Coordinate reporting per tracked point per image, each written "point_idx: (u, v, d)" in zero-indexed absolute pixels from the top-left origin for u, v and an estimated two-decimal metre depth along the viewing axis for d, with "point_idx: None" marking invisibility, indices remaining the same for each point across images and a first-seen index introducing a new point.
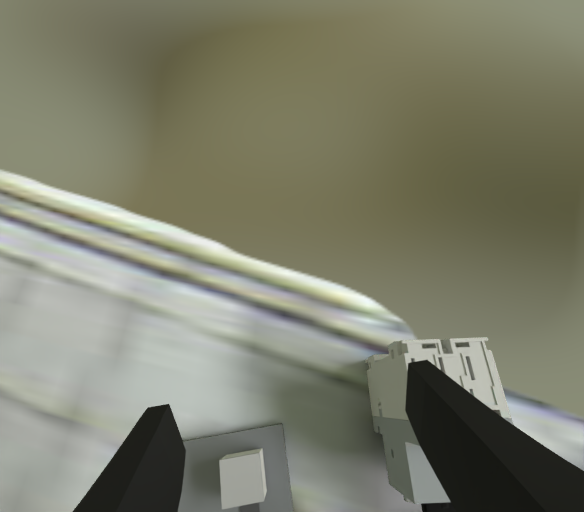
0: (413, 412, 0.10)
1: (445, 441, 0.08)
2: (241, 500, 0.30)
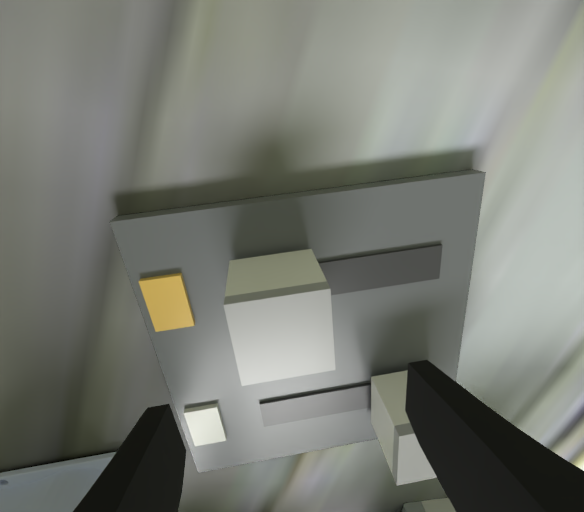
0: (413, 412, 0.10)
1: (445, 441, 0.08)
2: (405, 459, 0.17)
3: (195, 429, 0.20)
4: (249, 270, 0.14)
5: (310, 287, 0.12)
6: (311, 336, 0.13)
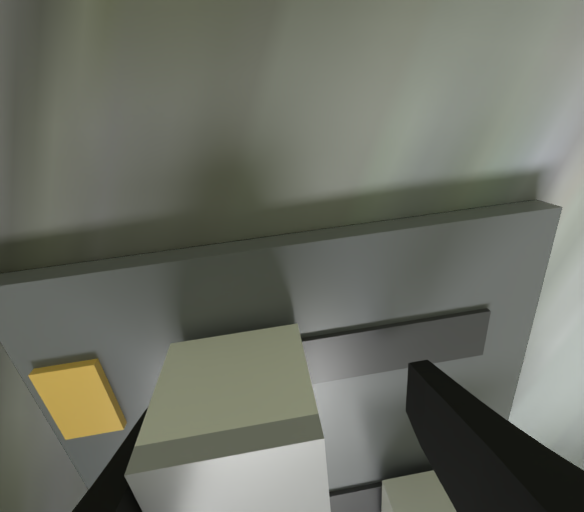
0: (413, 412, 0.10)
1: (445, 441, 0.08)
2: None
3: None
4: (194, 371, 0.09)
5: (287, 432, 0.07)
6: (291, 505, 0.07)
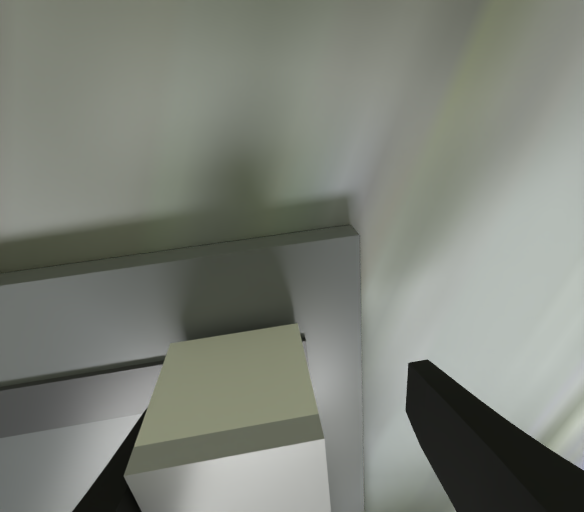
0: (414, 412, 0.10)
1: (446, 441, 0.08)
2: None
3: None
4: (194, 371, 0.09)
5: (288, 432, 0.07)
6: (291, 506, 0.07)
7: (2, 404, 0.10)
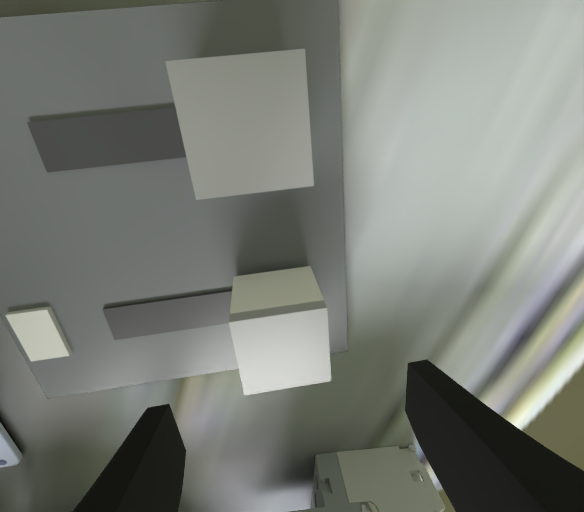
0: (413, 412, 0.10)
1: (445, 441, 0.08)
2: (246, 357, 0.13)
3: (26, 338, 0.17)
4: None
5: (279, 52, 0.09)
6: (282, 127, 0.10)
7: (55, 134, 0.13)
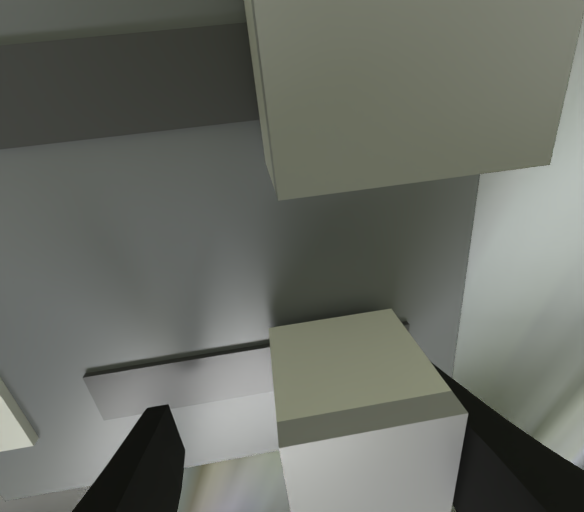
0: None
1: None
2: (306, 500, 0.07)
3: None
4: None
5: None
6: (517, 6, 0.04)
7: None
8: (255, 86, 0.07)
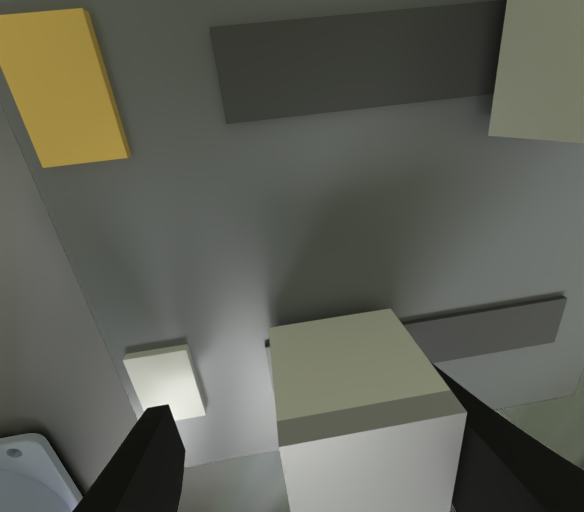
0: None
1: None
2: (306, 499, 0.07)
3: (148, 393, 0.11)
4: None
5: None
6: None
7: (253, 51, 0.07)
8: (501, 61, 0.08)
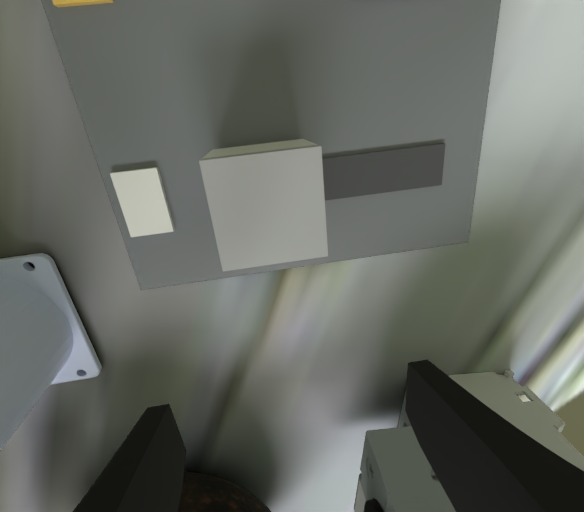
0: (413, 412, 0.10)
1: (445, 441, 0.08)
2: (222, 215, 0.11)
3: (129, 206, 0.15)
4: None
5: None
6: None
7: None
8: None
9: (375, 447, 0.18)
